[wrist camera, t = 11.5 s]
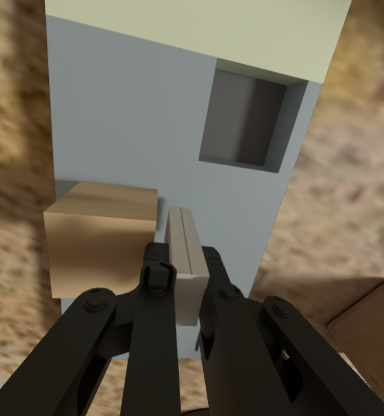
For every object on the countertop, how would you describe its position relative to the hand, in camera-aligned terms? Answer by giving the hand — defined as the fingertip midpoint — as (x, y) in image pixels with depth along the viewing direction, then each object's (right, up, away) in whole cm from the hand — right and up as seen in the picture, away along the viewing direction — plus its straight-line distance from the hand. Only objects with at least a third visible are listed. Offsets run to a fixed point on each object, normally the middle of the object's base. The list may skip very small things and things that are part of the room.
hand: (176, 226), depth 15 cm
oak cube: (-4, 0, +1) cm, 4 cm away
